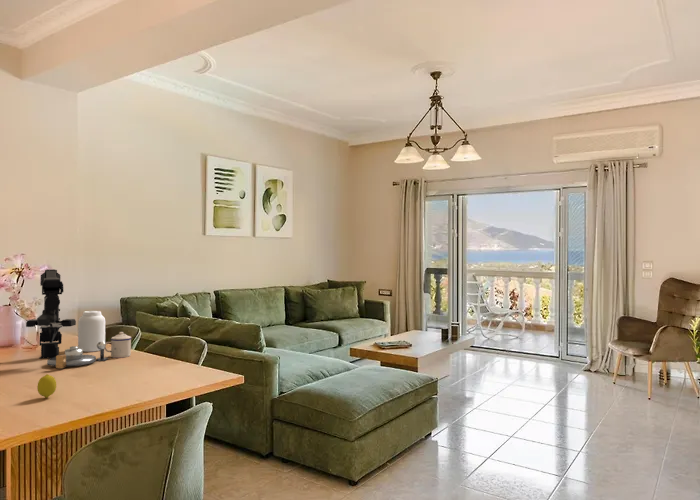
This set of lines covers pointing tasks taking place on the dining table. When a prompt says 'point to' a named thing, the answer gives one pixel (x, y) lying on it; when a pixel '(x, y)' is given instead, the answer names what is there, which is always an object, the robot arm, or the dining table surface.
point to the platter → (70, 361)
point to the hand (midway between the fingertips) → (50, 342)
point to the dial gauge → (101, 351)
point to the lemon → (46, 386)
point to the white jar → (91, 330)
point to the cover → (74, 353)
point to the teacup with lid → (120, 346)
